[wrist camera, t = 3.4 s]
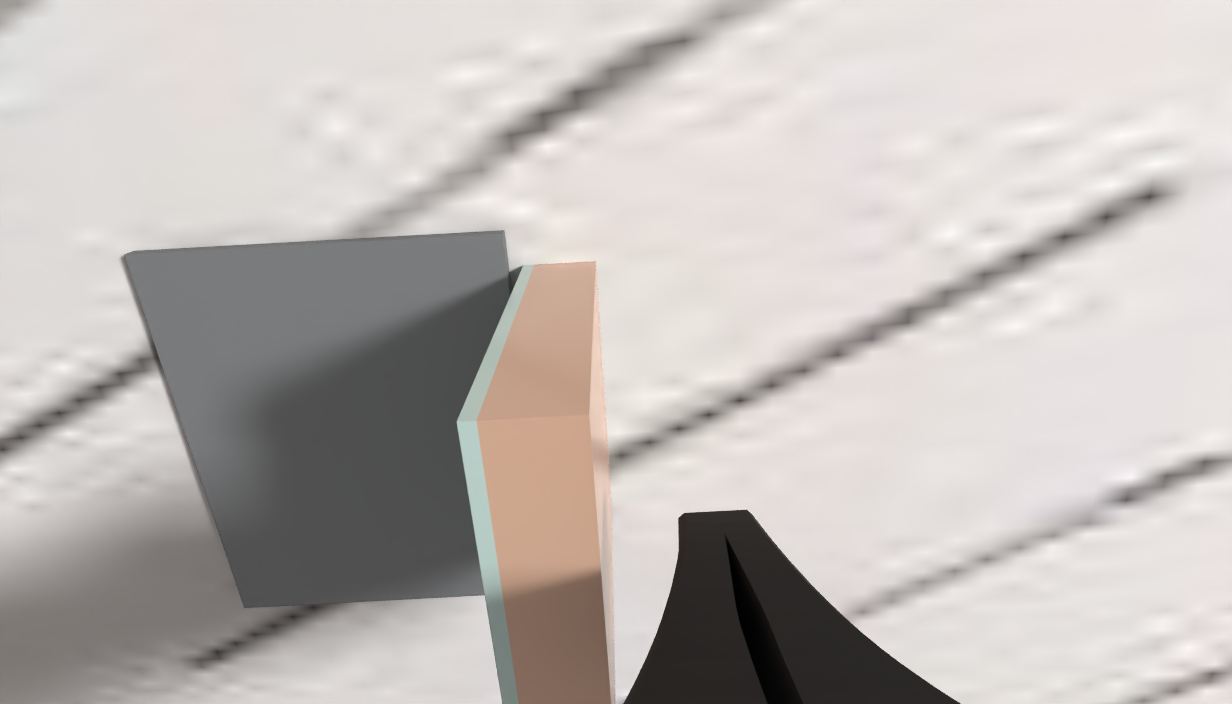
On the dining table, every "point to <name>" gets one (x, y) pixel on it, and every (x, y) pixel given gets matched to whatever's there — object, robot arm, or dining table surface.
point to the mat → (331, 405)
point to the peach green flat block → (544, 490)
